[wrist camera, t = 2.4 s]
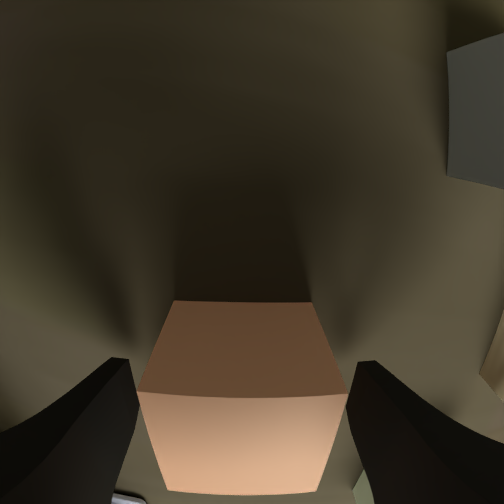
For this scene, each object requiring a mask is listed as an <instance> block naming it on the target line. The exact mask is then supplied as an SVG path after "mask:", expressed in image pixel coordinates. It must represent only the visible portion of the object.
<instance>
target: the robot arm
mask: <svg viewBox="0 0 504 504" xmlns="http://www.w3.org/2000/svg"><path fill="white" fill-rule="evenodd" d="M139 406H140V403H139V400H138V396H137V392H136V388H135V384H134V380H133V376H132V372H131V367H130V363H129V359H123V358H114V357H111V358H110V359H108V360H107V361H106V362H104V363H103V364H102V365H101V366H100V367H98V368H97V369H96V370H95V371H93V372H92V373H91V374H90V375H89V376H87V377H86V378H85V379H84V380H82V381H81V382H80V383H79V384H77V385H76V386H75V387H74V388H72V389H71V390H70V391H69V392H67V393H66V394H65V395H63V396H62V397H60V398H59V399H58V400H56V401H55V402H54V403H52V404H51V405H49V406H48V407H47V408H45V409H44V410H42V411H41V412H39V413H37V414H36V415H34V416H33V417H31V418H29V419H27V420H25V421H24V422H22V423H20V424H18V425H16V426H14V427H12V428H10V429H8V430H5V431H3V432H1V433H0V504H146V502H145V501H144V500H142V499H139V498H135V497H130V496H125V495H120V494H115V493H113V492H114V488H115V485H116V481H117V478H118V476H119V473H120V470H121V467H122V464H123V461H124V458H125V455H126V453H127V450H128V447H129V444H130V441H131V438H132V436H133V433H134V430H135V425H136V421H137V416H138V411H139ZM346 410H347V416H348V421H349V425H350V430H351V433H352V436H353V439H354V442H355V445H356V448H357V451H358V453H359V456H360V459H361V462H362V464H363V467H364V470H365V473H366V476H367V478H368V481H369V484H370V488H371V491H372V495H373V500H374V504H504V444H503V443H500V442H497V441H495V440H493V439H490V438H488V437H486V436H483V435H481V434H479V433H477V432H475V431H473V430H471V429H469V428H467V427H465V426H463V425H462V424H460V423H458V422H456V421H454V420H453V419H451V418H450V417H448V416H446V415H445V414H443V413H442V412H441V411H439V410H438V409H436V408H435V407H433V406H432V405H430V404H429V403H428V402H426V401H425V400H424V399H422V398H421V397H420V396H418V395H417V394H416V393H415V392H413V391H412V390H411V389H410V388H408V387H407V386H406V385H405V384H404V383H402V382H401V381H400V380H399V379H397V378H396V377H395V376H394V375H393V374H391V373H390V372H389V371H388V370H387V369H385V368H384V367H383V366H382V365H381V364H379V363H378V362H377V361H375V360H373V361H362V362H358V363H357V367H356V371H355V375H354V379H353V382H352V386H351V390H350V393H349V397H348V400H347V404H346Z"/></svg>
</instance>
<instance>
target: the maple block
mask: <svg viewBox="0 0 504 504" xmlns="http://www.w3.org/2000/svg"><path fill="white" fill-rule="evenodd" d="M479 374H480V375H481V376H482V378H483V379H484V380H485V381H486V382H487V383H488V385H489V386H490V387H491V388H492V389H493V391H494V392H495V393H496V394H497V395H498V397H499V398H500V399H501V400H502V401H503V403H504V310H503V313H502V316H501V319H500V322H499V325H498V328H497V331H496V333H495V336H494V339H493V341H492V344H491V347H490V349H489V352H488V354H487V356H486V359H485V361H484V364H483V366H482V368H481V370H480V373H479Z"/></svg>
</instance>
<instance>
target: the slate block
mask: <svg viewBox="0 0 504 504" xmlns="http://www.w3.org/2000/svg"><path fill="white" fill-rule="evenodd" d="M446 53H447V66H448V83H449V147H448V165H447V176H449V177H454V178H459V179H463V180H468V181H472V182H476V183H481V184H485V185H489V186H493V187H497V188H501V189H504V33H501V34H498V35H495V36H492V37H489V38H486V39H483V40H480V41H477V42H474V43H471V44H468V45H465V46H462V47H460V48H457V49H454V50H451V51H449V52H446Z"/></svg>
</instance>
